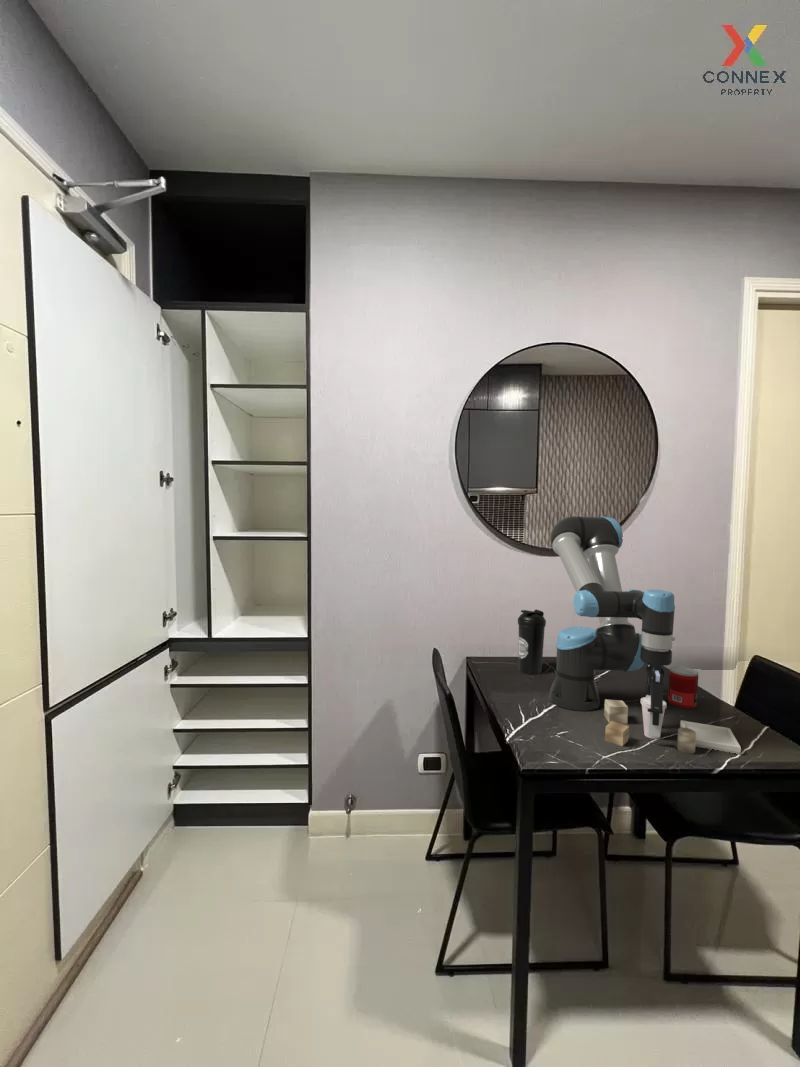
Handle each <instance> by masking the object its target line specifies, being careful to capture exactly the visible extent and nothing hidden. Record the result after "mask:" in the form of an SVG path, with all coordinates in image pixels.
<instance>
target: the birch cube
mask: <svg viewBox="0 0 800 1067" xmlns="http://www.w3.org/2000/svg"><path fill="white" fill-rule="evenodd" d="M603 710H604V712H603V716H604V717H605V719H606V721H607V722H608V724H609V723H610V722H611V721H613V722H616V723H620V724H623V725H628V713H629V707H628V705H627V704H626V703H625V702H624V701H623V700H619V699H618V700H617V699H606V698H605V699H604V709H603Z"/></svg>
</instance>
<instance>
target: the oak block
mask: <svg viewBox="0 0 800 1067" xmlns="http://www.w3.org/2000/svg"><path fill="white" fill-rule="evenodd" d="M629 728H630V726H629V725H627V724H620V723H616V722H613V721H611V722H610V723H609V722H608V724H607V725H605V734H604V735H605V736H604V741H606V742H609V743H611V744H613V745H617V746H621V747H624V745H626V744H627V742H628V741H629V733H630V732H629V730H630V729H629Z"/></svg>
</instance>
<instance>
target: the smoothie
mask: <svg viewBox="0 0 800 1067" xmlns="http://www.w3.org/2000/svg"><path fill="white" fill-rule="evenodd" d="M640 704H641V710H642V713H641V714H642V722H643V732H644V733H643V734H644V736H645V737H646V738H648V739H652V740H658V739H660V737H655V736H649V714H650V712H648V709H651V695H650V697H646V696H645V697H644V696H643V697H641V698H640ZM655 708H656V707H655ZM667 708H668V706H667V702H666V701H665V700H663V714H661V728H662V725H663V722H664V715H665V712H666V711H665V710H666V709H667Z"/></svg>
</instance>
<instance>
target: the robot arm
mask: <svg viewBox="0 0 800 1067" xmlns="http://www.w3.org/2000/svg"><path fill="white" fill-rule="evenodd" d="M623 534H624V533H623V530H622V526H621V524H620V523H619V521H618V520H617V519H615V518H613V517H607V516H604V515H603V516H575V515H574V516H567V517H565V518H562V519H561V520H559V521H558V522H557V523H556V524H555V525H554V526H553V528H552V530H551V532H550V539H549V540H550V546H551V548H552V550H553V552H554V553H555V554H557V555H558V556H559V558H560V560H561V562H562V565H563V566H564V569H565V571H566V573H567V575H568V577H569V579H570V582H571V583H572V586H573V588H574V589H575V593H574V596H573V601H572V602H573V607H574V612H575V613H576V614H577V616H579V617H586V618H598V620H599V625H598V626H597V627H596V629H595V628H593V627H589V626H571V627H566V628H564V629H561V630H559V632H558V634H557V641H556V645H555V646H556V664H555V665H556V667H555V668H556V669H555V677H554V680H553V681H552V684H551V687H550V689H549V695H548V696H549V700H550V702H552V704H554V705H556V706H558V707H561V708H564V709H567V710H571V711H581V712H582V711H583V712H584V711H587V712H589V711H592V710H596V709H598V708H599V707H600V700H601V698H600V695H599V691H598V687H597V685H596V681H595V678H596V676H595V674H596V671H607V672H609V671H610V672H611V671H612V672H614V671H617V672H618V671H619V672H630V671H631V672H633V671H634V672H635V671H638V670H640V669H641V668H643V666H644V664H645V663H646V664H647V666H646V667H645V668H646V684H645V692H646V695H645V697H650V695H651V709H648V712H650V714H649V736H655V737H659V738H661V735H662V733H661V731H662V727H661V714H663V701H664V699H663V697H664V694H663V693H664V691H663V690H664V688H663V687H664V677H665V671H664V668H663V666H669V665H671V664H672V660H673V659H672V658H673V651H672V650H671V649H672V648H673V641H674V642H675V641H676V638H675V637H674V634H673V633H674V623H675V611H676V610H675V609H676V605H675V595H674V594H673V593H672V592H671V591H668V590H663V589H662V590H661V589H646V590H645V591H642V590H637V589H628V590H626V591H623V588H622V584H621V579H620V575H619V574H620V573H619V569H618V564H617V559H616V555H617V554H618V553H619V551H620V550H619V549H621V547H622V545H623V542H624V541H623V540H624V539H623V537H624V535H623ZM628 618H631V619H639V620H640V621H641V632H640V633H639V632H636V628H635V625H634V624H633V623H631V622H629V620H628ZM655 707H656V708H655Z"/></svg>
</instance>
